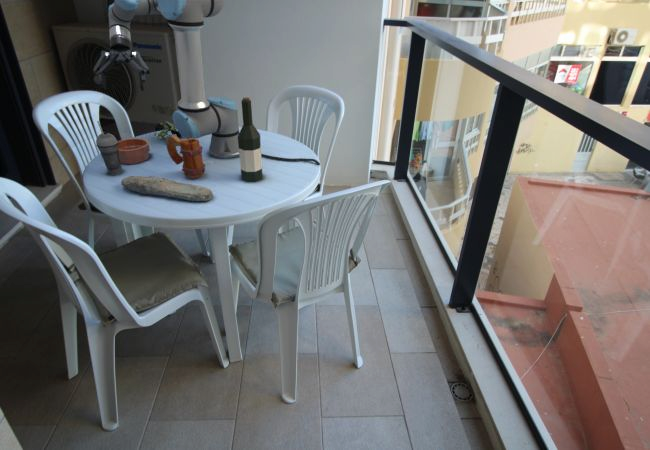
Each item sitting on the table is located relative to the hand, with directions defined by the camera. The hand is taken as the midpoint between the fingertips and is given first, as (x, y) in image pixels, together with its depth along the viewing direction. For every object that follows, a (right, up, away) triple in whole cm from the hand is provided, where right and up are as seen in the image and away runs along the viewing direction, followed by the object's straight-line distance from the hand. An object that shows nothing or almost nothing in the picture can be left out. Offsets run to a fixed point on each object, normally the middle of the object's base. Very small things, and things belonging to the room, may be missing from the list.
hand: (123, 89), depth 153 cm
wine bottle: (+51, -35, -2) cm, 61 cm away
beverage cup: (-2, -33, -1) cm, 33 cm away
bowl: (-1, -25, +11) cm, 27 cm away
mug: (+26, -34, -1) cm, 43 cm away
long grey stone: (+23, -42, -14) cm, 50 cm away
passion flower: (+8, -14, +29) cm, 33 cm away
